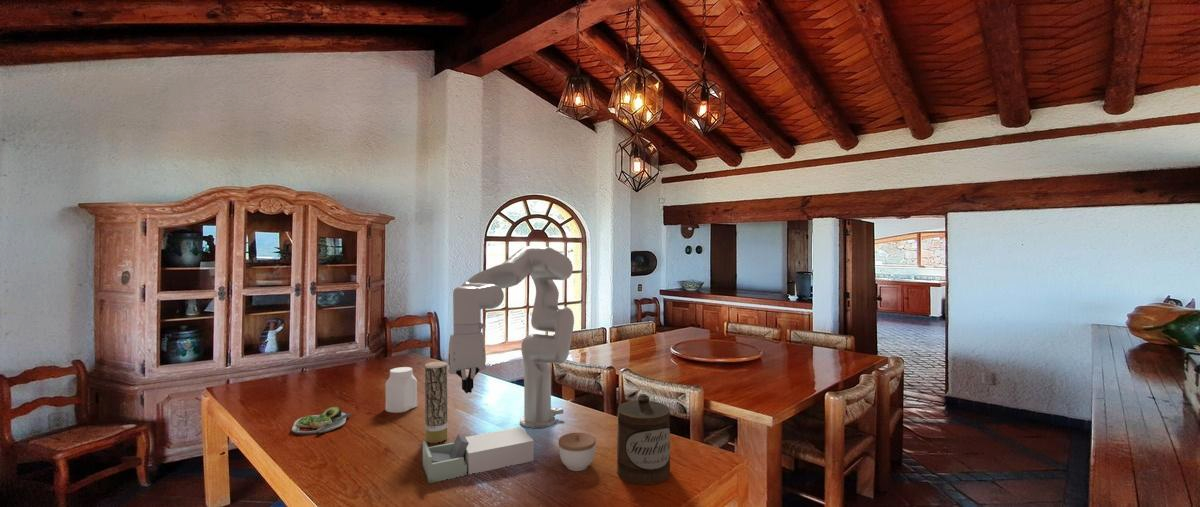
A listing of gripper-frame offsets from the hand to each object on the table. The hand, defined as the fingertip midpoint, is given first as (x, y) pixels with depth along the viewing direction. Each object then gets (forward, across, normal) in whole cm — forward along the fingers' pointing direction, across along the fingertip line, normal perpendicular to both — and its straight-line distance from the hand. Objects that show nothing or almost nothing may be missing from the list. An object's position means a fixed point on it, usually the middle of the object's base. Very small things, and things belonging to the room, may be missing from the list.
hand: (467, 391), depth 140 cm
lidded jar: (+22, -27, +16) cm, 39 cm away
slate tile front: (+17, +8, +1) cm, 19 cm away
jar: (+22, +12, -61) cm, 66 cm away
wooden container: (+22, -42, +28) cm, 55 cm away
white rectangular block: (+21, -8, +1) cm, 23 cm away
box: (+21, +7, +1) cm, 22 cm away
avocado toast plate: (+22, +39, -55) cm, 71 cm away
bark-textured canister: (+22, +5, -22) cm, 31 cm away
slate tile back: (+16, +2, +1) cm, 16 cm away
